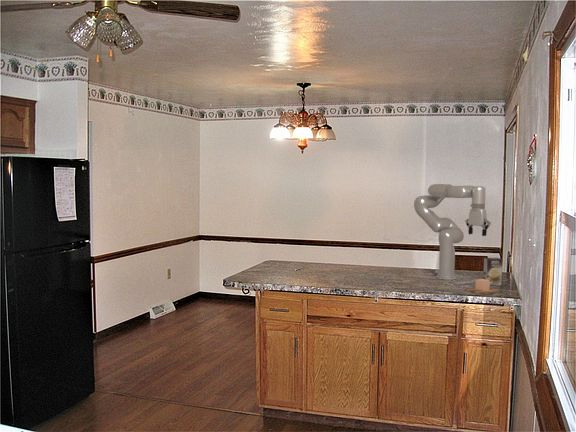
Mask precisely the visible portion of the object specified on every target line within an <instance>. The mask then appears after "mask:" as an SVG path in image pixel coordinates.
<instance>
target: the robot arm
mask: <svg viewBox="0 0 576 432" xmlns="http://www.w3.org/2000/svg"><path fill="white" fill-rule="evenodd" d="M427 193H428V194H429V195H428V194H427V195H420V196H417V197H416V198H415V199H414V202H413V208H414V210H415V213H416V215H418V216H419V218H421V219H422V220H423V222H424V223H425V224H426V225H427V226H428V227H429V228H430V230H432V231H433V232H434V233H437V234H438V238H437V239H438V243H439V263H438V269H436V270H435V271H434V274H436V276H435V277H436V279H438V280H439V279H440V280H444V281H445V280H446V281H447V280H448V281H450V280H451V281H452V280H456V279H457V278H458V277H457V276H456V275H455V267H456V266H455V263H456V249H455V246H454V244H459V243H461V242H463V240H464V239H465V237H464V235H465V234H464V232H463V230H462V229H461V228H460V227H459V226H458V225H457V224H456V223H455V222H454V221H453V220H452V219H451V218H449V217H440V216H438V215H437V214H436V212H434V211H433V210H431V209H434V208H436V207H438V206H439V205H440V204H441V203H442V202H443V201H444V199H447V198H448V199H451V198H452V199H471V204H470V207H471V208H470V209H469V214H468V218H467V219H465V221H464V222H465V224H466V226H467V228H468V229H467V230H468V231H467V232H468V235H473V233H474V230H473V229H474V226H478V227H481V229H482V230H481V231H482V232H481V235H482V237H486V236H487V232H488V229H489V228H490V226H491V223H492V222H491V221H490V220H488V219H487V218H488V217H487V210H486V187H485V186H477V185H476V186H475V185H452V184H451V183H449V184H444V183H435V184H434V183H433V184H430V185H429V187H428V188H427Z"/></svg>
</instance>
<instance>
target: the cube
mask: <svg viewBox="0 0 576 432" xmlns="http://www.w3.org/2000/svg"><path fill="white" fill-rule="evenodd" d="M490 286H491V285H490V280H486V279H483V278H479V279H475V286H474V287H475V289H477V290H482V291H486V290H490V288H491V287H490Z"/></svg>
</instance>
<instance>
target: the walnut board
mask: <svg viewBox="0 0 576 432" xmlns="http://www.w3.org/2000/svg"><path fill="white" fill-rule="evenodd" d="M475 287H476V286H472V287H467V288H464V292H469V293H471V294H477V295H482V296H490V295H494V294H495V295H496V294H499V292H500V293H501V291H502V290H501V289H496V288H492V287H490V290H486V291H482V290H477V289H475Z"/></svg>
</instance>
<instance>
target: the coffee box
mask: <svg viewBox="0 0 576 432" xmlns="http://www.w3.org/2000/svg"><path fill="white" fill-rule="evenodd" d="M502 275H503V259H502V258H500V257H483V273H482V279H486V280H490V286H502V279H503V278H502Z"/></svg>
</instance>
